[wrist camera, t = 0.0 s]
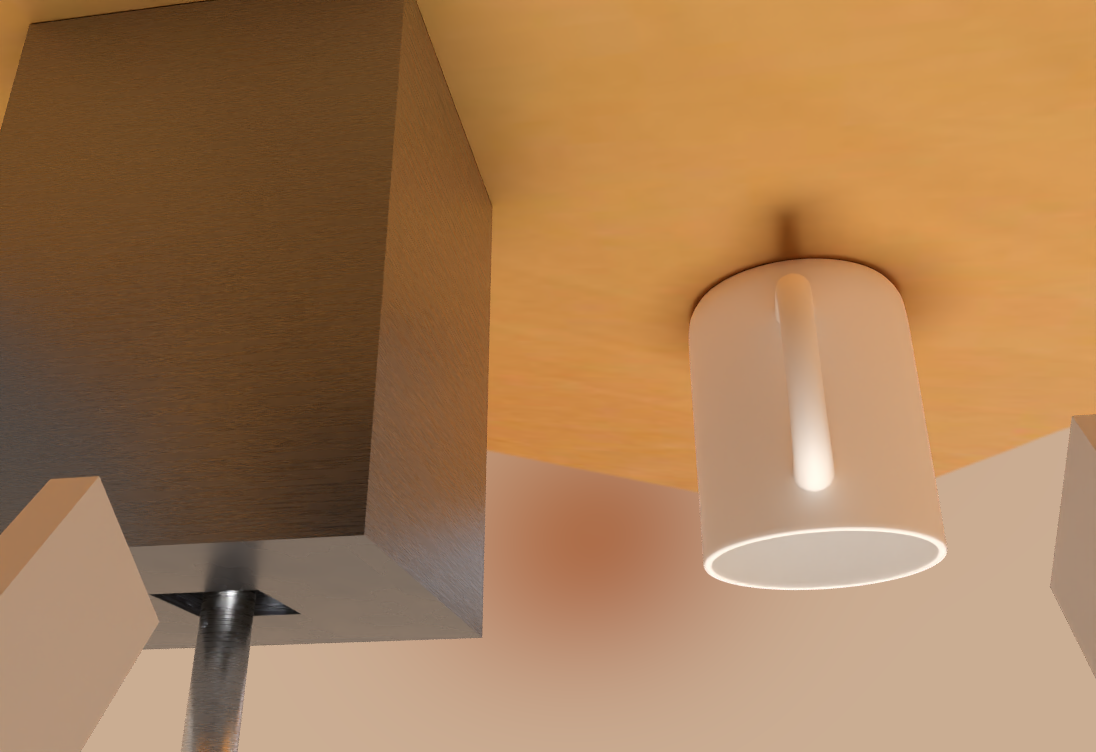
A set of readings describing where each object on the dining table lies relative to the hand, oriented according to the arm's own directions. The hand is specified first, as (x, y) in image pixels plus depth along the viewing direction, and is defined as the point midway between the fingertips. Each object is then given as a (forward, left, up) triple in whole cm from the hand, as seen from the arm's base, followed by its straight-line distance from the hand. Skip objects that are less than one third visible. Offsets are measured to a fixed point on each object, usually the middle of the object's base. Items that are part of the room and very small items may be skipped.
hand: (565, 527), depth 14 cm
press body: (+11, -9, -15) cm, 21 cm away
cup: (+21, +6, -16) cm, 27 cm away
